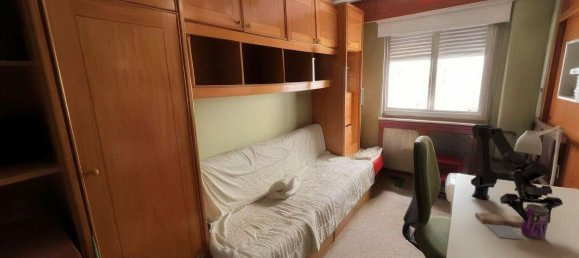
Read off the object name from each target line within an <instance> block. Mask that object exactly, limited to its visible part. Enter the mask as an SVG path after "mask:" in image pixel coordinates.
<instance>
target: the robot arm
mask: <svg viewBox="0 0 579 258" xmlns="http://www.w3.org/2000/svg"><path fill="white" fill-rule="evenodd" d="M471 131H472V136H473V138H474V139H475V141H476V143H477V156H478V157H477V159H478V169H477V170H476V172H475V177H474V178H472V179H471V180H470V185H472V186H473V187H474V191H473V193H472V195H471V197H473V198H477V199H481V200H484V201H487V200H488V199H489V198H490V195H489V189H490V188H491V189H492V188H494V187H495V185H496V184H497V183H498V182H497V181H498V173H497V171H494V170H493V169H492V165H491V164H492V162H491V161H492V160H491V149H490V140H492V141H493V143H494V145H495V147H496V148H497V151H498V152H499V153H500V155H501V159H500V162H501V165H502V166H503V168H504V170H506V171H511V172H510V174H509V175H508V178H509V179H513V182H514V184H515V186H514V187H515V188H514V191H515V192H517V193H508V192H507V193H505V194H503V195H502V196H500V198H499V200H500V204H504V205H507V206H508V207H511V208H512V209H513V210H514V211H515V212H516V213H517V214H518V216H521V217H522V218H523V219H524V220H525V221H528V219H527V215H526V213H525V208H524V203H525V204H536V205H540V206H543V207H545V208H547V209H548V210H549V212H548V213H549V215H550V216H549V221H548V224H550V223H551V215H552V211H553V209H556V208H557V207H560V206H562V205H564V202H563V200H562V199H561V198H559V197H553V196H548V195H552V194H553V189H552V187H551V185H541V186H537V184H534V182H533V181H535V182H536V181H537V180H540V179H542V178H544V177H545V176H548V175H549V173H550V172H549V169H548V167H547V166H546V165H544V164H542V163H540V162H539V161H538V160H531V161H529V162H527V161H526V160H525V158H524V157H523V156H522V154H519V153H518V152H516V151H515V150H514V148H513V146H511V144H510V142H509V141H508V139H507V138H506V136H505V135H504V133H503V129H502V128H500V127H497V126H493V125H491V124H490V123H489V124H487V123H481V124H479V123H478V124H474V125H473V126H472V127H471ZM512 171H514V172H512ZM544 196H545V197H544ZM543 197H544V198H543ZM542 198H543V199H542Z"/></svg>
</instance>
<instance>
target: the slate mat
mask: <svg viewBox="0 0 579 258" xmlns="http://www.w3.org/2000/svg"><path fill="white" fill-rule="evenodd" d="M485 226H486V227H487V228H488V229H489V230H490V231H491V232H492V233H493V234H494V235H495V236H496V237H497V238H499V239H511V240H519V241H520V240H521V241H525V240H526V238H524V237H523V236H522V235H521V234H519V233H518V232H517V231H516V230H515V229H514V228H513V227H512V226H511V225H502V224H491V223H485Z"/></svg>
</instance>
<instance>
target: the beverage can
mask: <svg viewBox="0 0 579 258" xmlns="http://www.w3.org/2000/svg"><path fill="white" fill-rule="evenodd" d="M524 210H525V213H526V215H527V219H528V221H525V220H524V219H523V220H522V226H520V231H521V232H522V233H523V234H525V235H526V236H528V237H530V238H533V239H545V238H546V235H547V230H548V226H549V225H548V224H549V223H548V221H549V216H550V215H549V213H548V212H549V210H548V209H547V208H545V207H543V206H541V205H540V204H536V203H527V205H526V207H525V208H524ZM550 217H551V216H550Z"/></svg>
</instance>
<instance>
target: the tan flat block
mask: <svg viewBox="0 0 579 258" xmlns="http://www.w3.org/2000/svg"><path fill="white" fill-rule="evenodd" d="M474 215H475V217H476V218H477V220H479V221H480V223H482V224H491V225H503V226H515V227H521V226H522V220H523V218H522V217H521V216H520V215H509V214H496V213H485V212H475V213H474Z"/></svg>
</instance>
